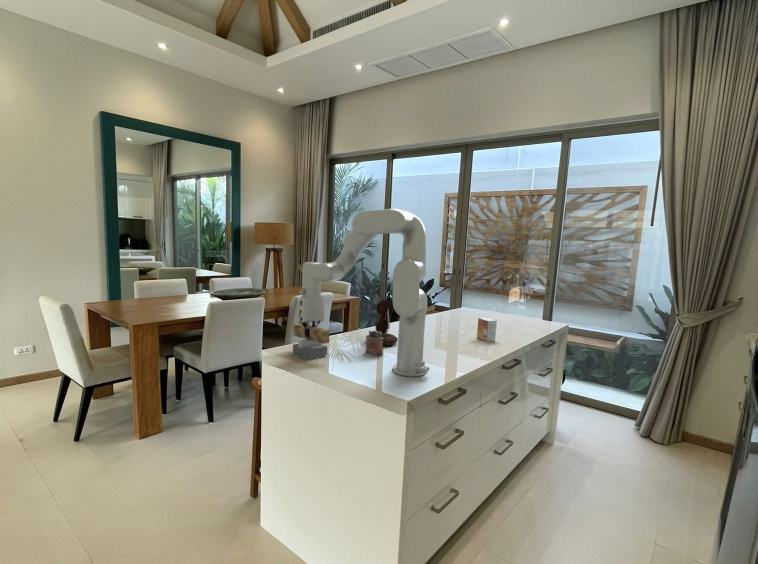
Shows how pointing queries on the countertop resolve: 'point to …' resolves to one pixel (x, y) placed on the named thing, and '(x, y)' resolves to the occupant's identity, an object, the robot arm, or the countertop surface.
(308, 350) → the ridge stand
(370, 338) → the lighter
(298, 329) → the batten
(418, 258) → the robot arm
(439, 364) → the countertop surface
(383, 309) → the brown rounded piece
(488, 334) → the small box
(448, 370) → the countertop surface
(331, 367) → the countertop surface
